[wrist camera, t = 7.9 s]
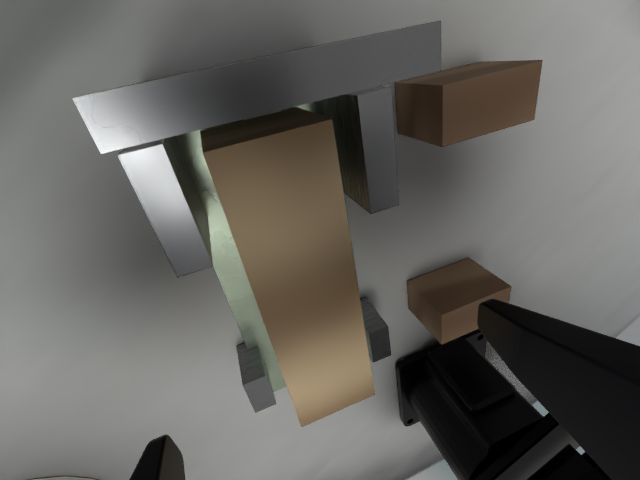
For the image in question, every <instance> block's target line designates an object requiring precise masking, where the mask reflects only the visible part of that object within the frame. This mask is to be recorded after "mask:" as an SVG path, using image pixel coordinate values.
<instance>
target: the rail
mask: <svg viewBox="0 0 640 480" xmlns="http://www.w3.org/2000/svg"><path fill="white" fill-rule="evenodd" d="M200 136H201V144H202V153H203V155H204V158H205V161H206V164H207V167H208V169H209V172H210V175H211V178H212V180H213V183H214V186H215V189H216V191H217V194H218V197H219V200H220V203H221V205H222V208H223V211H224V214H225V216H226V219H227V222H228V225H229V228H230V230H231V233H232V236H233V239H234V241H235V244H236V247H237V250H238V252H239V255H240V258H241V261H242V264H243V266H244V269H245V272H246V275H247V277H248V280H249V283H250V286H251V288H252V291H253V294H254V297H255V300H256V302H257V305H258V308H259V311H260V313H261V316H262V319H263V322H264V324H265V327H266V330H267V333H268V336H269V338H270V341H271V344H272V347H273V349H274V352H275V355H276V358H277V361H278V363H279V366H280V369H281V372H282V374H283V377H284V380H285V383H286V385H287V388H288V391H289V394H290V397H291V399H292V402H293V405H294V408H295V410H296V413H297V416H298V419H299V421H300V424H301V427H303V426H305V425H308V424H310V423H312V422H314V421H316V420H319V419H321V418H323V417H325V416H328V415H330V414H332V413H334V412H337V411H339V410H341V409H343V408H346V407H348V406H350V405H352V404H354V403H357V402H359V401H361V400H363V399H366V398H368V397H370V396H372V395H375V391H374V385H373V379H372V372H371V366H370V359H369V353H368V346H367V340H366V334H365V327H364V321H363V314H362V308H361V301H360V295H359V289H358V282H357V276H356V269H355V263H354V257H353V250H352V244H351V237H350V231H349V224H348V218H347V212H346V205H345V199H344V192H343V186H342V179H341V173H340V167H339V160H338V154H337V147H336V141H335V134H334V128H333V122H332V119H330V118H327V117H325V116H322V115H319V114H316V113H313V112H310V111H307V110H304V109H301V108H299V107H296V108H292V109H288V110H284V111H280V112H276V113H272V114H268V115H264V116H260V117H256V118H252V119H248V120H244V121H240V122H236V123H232V124H227V125H223V126H219V127H215V128H211V129H207V130H203V131H200Z"/></svg>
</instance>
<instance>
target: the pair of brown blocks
mask: <svg viewBox="0 0 640 480" xmlns="http://www.w3.org/2000/svg"><path fill="white" fill-rule="evenodd" d="M541 67H542V60H527V61H495V62H477V63H473V64H469V65H465V66H461V67H457V68H453V69H449V70H445V71H440V72H436V73H432V74H428V75H424V76H420V77H416V78H412V79H408V80H404V81H400V82H396V83H395V91H396V107H397V124H398V134H401V135H405V136H408V137H411V138H415V139H418V140H421V141H424V142H428V143H431V144H434V145H437V146H441V147H444V146H448V145H451V144H454V143H458V142H461V141H464V140H468V139H471V138H475V137H478V136H481V135H485V134H488V133H491V132H495V131H498V130H501V129H505V128H508V127H512V126H515V125H518V124H522V123H525V122H528V121H532V120H534V118H535V110H536V103H537V96H538V88H539V81H540V74H541ZM407 289H408V305H409V309H410V311H411V312H412V313H413V314H414V315H415V316H416V317H417V318H418V319H419V320H420V322H421V323H422V324H423V325H424V326H425V327H426V328H427V329H428V330H429V331H430V333H431V334H432V335H433V336H434V337H435V338H436V339H437V340H438V341H439V342H440V344H441V345H442V344H444V343H447V342H449V341H451V340H454V339H456V338H458V337H460V336H463V335H465V334H467V333H470V332H472V331H474V330H477V329H479V328H478V325H477V316H478V306H479V304H480V303H481V302H483V301H486V300H488V299H497V300H500V301H503V302H506V303H509V299H510V292H511V286H510V285H508V284H507V283H505V282H504V281H502V280H501V279H499V278H498V277H497V276H495V275H494V274H492V273H491V272H489V271H488V270H486V269H485V268H483V267H482V266H480V265H479V264H477V263H476V262H474V261H473V260H471V259H470V258H467V259H464V260H462V261H459V262H456V263H454V264H451V265H448V266H446V267H443V268H440V269H438V270H435V271H433V272H430V273H427V274H425V275H422V276H419V277H417V278H414V279H412V280H409V281H407Z"/></svg>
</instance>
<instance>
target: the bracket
mask: <svg viewBox="0 0 640 480" xmlns="http://www.w3.org/2000/svg"><path fill="white" fill-rule="evenodd" d="M438 71H441V21H436V22H431V23H426V24H421V25H416V26H411V27H406V28H401V29H397V30H392V31H387V32H382V33H377V34H372V35H367V36H362V37H357V38H352V39H347V40H342V41H337V42H332V43H327V44H322V45H317V46H313V47H308V48H303V49H298V50H294V51H289V52H284V53H279V54H274V55H270V56H265V57H260V58H255V59H251V60H246V61H241V62H236V63H232V64H227V65H222V66H217V67H212V68H208V69H203V70H198V71H193V72H189V73H184V74H179V75H174V76H170V77H165V78H160V79H155V80H150V81H146V82H141V83H136V84H132V85H128V86H123V87H119V88H114V89H110V90H105V91H101V92H97V93H92V94H88V95H83V96H79V97H74V98H72V99H73V101H74V103H75V105H76V107H77V108H78V110H79V112H80V114H81V116H82V118H83V120H84V122H85V124H86V126H87V128H88V130H89V132H90V134H91V136H92V138H93V139H94V141H95V143H96V145H97V147H98V149H99V151H100V153H101V154H103V153H107V152H111V151H115V150H119V149H122V151H121V152H120V153H119V154H118V155H117V156H118V158H119V160H120V162H121V164H122V166H123V168H124V170H125V172H126V174H127V176H128V178H129V180H130V182H131V184H132V186H133V188H134V190H135V192H136V194H137V196H138V198H139V200H140V202H141V204H142V206H143V208H144V211H145V213H146V215H147V217H148V219H149V221H150V223H151V225H152V227H153V229H154V231H155V233H156V235H157V237H158V239H159V241H160V243H161V245H162V247H163V249H164V251H165V253H166V255H167V257H168V259H169V261H170V263H171V265H172V267H173V270H174V272H175V274H176V276H177V278H178V277H181V276H184V275H187V274H190V273H193V272H196V271H199V270H202V269H205V268H208V267H211V266H213V267H214V269H215V272H216V274H217V276H218V279H219V281H220V284H221V286H222V288H223V291H224V293H225V296H226V298H227V300H228V303H229V305H230V308H231V310H232V312H233V315H234V317H235V320H236V322H237V325H238V327H239V329H240V332H241V334H242V337H243V339H244V341H245V343H243V344H241V345H238V346H237V352H238V359H239V365H240V371H241V377H242V384H243V387H244V389H245V391H246V393H247V395H248V398H249V400H250V402H251V404H252V406H253V408H254V411H255V413H256V412H258V411H261V410H263V409H265V408H268V407H270V406H272V405H275V404H276V401H275V397H274V393H273V392H274V391H277V390H279V389H281V388H284V387H286V386H287V385H286V383H285V380H284V377H283V374H282V372H281V369H280V366H279V363H278V361H277V358H276V355H275V352H274V349H273V347H272V344H271V341H270V338H269V336H268V333H267V330H266V327H265V324H264V322H263V319H262V316H261V313H260V311H259V308H258V305H257V302H256V300H255V297H254V294H253V291H252V288H251V286H250V283H249V280H248V277H247V275H246V272H245V269H244V266H243V264H242V261H241V258H240V255H239V252H238V250H237V247H236V244H235V241H234V239H233V236H232V233H231V230H230V228H229V225H228V222H227V219H226V216H225V214H224V211H223V208H222V205H221V203H220V200H219V197H218V194H217V191H216V189H215V186H214V183H213V180H212V178H211V175H210V172H209V169H208V167H207V164H206V161H205V158H204V155H203V153H202V144H201V136H200V131H203V130H207V129H211V128H215V127H219V126H223V125H227V124H232V123H236V122H240V121H244V120H248V119H252V118H256V117H260V116H264V115H268V114H272V113H276V112H280V111H284V110H288V109H292V108H296V107H299V108H301V109H304V110H307V111H310V112H313V113H316V114H319V115H322V116H325V117H327V118H330V119H332V122H333V128H334V134H335V141H336V147H337V154H338V160H339V167H340V173H341V179H342V186H343V192H344V193H345V194H347V195H348V196H349V197H350V198H351V199H353V200H354V201H355V202H356V203H358V204H359V205H360V206H361V207H363V208H364V209H365V210H366V211H368V212H369V213H370V214H373V213H376V212H379V211H382V210H385V209H388V208H391V207H394V206H398V205H399V196H398V181H397V166H396V151H395V136H394V121H393V106H392V91H391V87H381V85H385V84H389V83H393V82H397V81H401V80H405V79H409V78H413V77H418V76H422V75H426V74H430V73H434V72H438ZM344 199H345V198H344ZM346 212H347V211H346ZM351 244H352V243H351ZM353 257H354V256H353ZM360 301H361V308H362V314H363V321H364V327H365V334H366V340H367V346H368V353H369V357H370V358H371V360H372V362H376V361H378V360H380V359H383V358H385V357H388V356H390V355H391V350H390V340H389V331H388V326H387V324H386V323H385V322H384V320H383V319H382V318H381V316H380V315H379V314H378V312H377V311H376V310H375V309H374V307H373V306H372V305H371V303H370V302H369V301H368V299H367V298H366V297H364V298H362V299H360Z"/></svg>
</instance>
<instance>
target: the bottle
mask: <svg viewBox="0 0 640 480" xmlns="http://www.w3.org/2000/svg"><path fill="white" fill-rule="evenodd" d="M32 480H95V479H89V478H78V477H68V476H64V477H53V478H41V479H32Z"/></svg>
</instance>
